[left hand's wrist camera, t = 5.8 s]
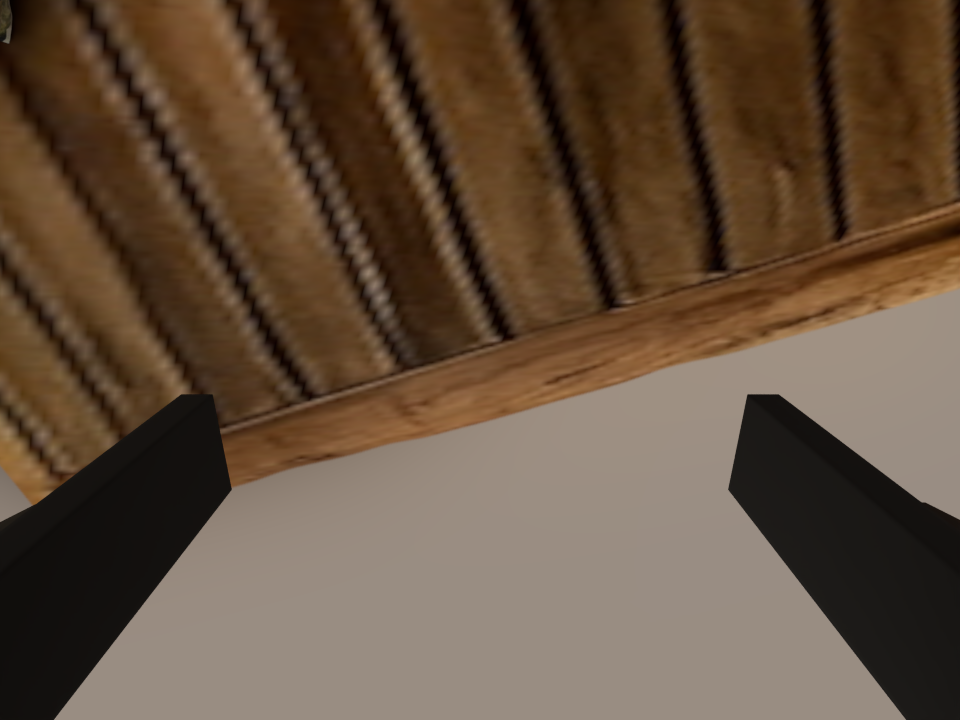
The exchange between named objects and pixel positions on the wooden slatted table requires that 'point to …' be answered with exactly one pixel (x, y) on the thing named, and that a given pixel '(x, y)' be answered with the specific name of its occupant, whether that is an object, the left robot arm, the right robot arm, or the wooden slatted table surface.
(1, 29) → the fossil
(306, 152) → the wooden slatted table surface
